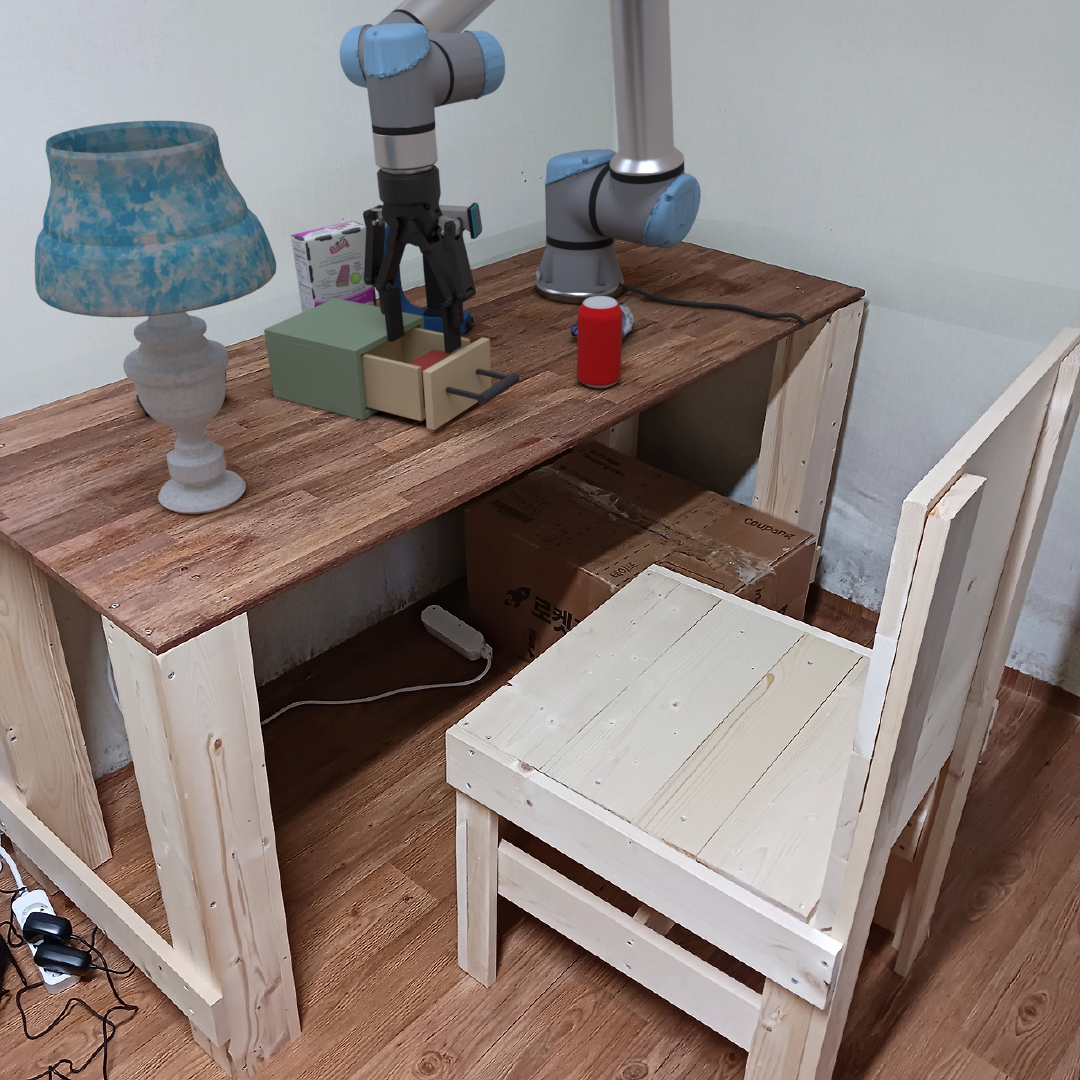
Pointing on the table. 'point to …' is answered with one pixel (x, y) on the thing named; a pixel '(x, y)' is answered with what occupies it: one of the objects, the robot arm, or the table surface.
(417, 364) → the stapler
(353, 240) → the candy bar box
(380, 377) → the drawer
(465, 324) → the handheld scanner
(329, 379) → the cabinet
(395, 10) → the robot arm
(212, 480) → the table lamp
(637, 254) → the table surface
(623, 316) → the snack package
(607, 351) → the beverage can
